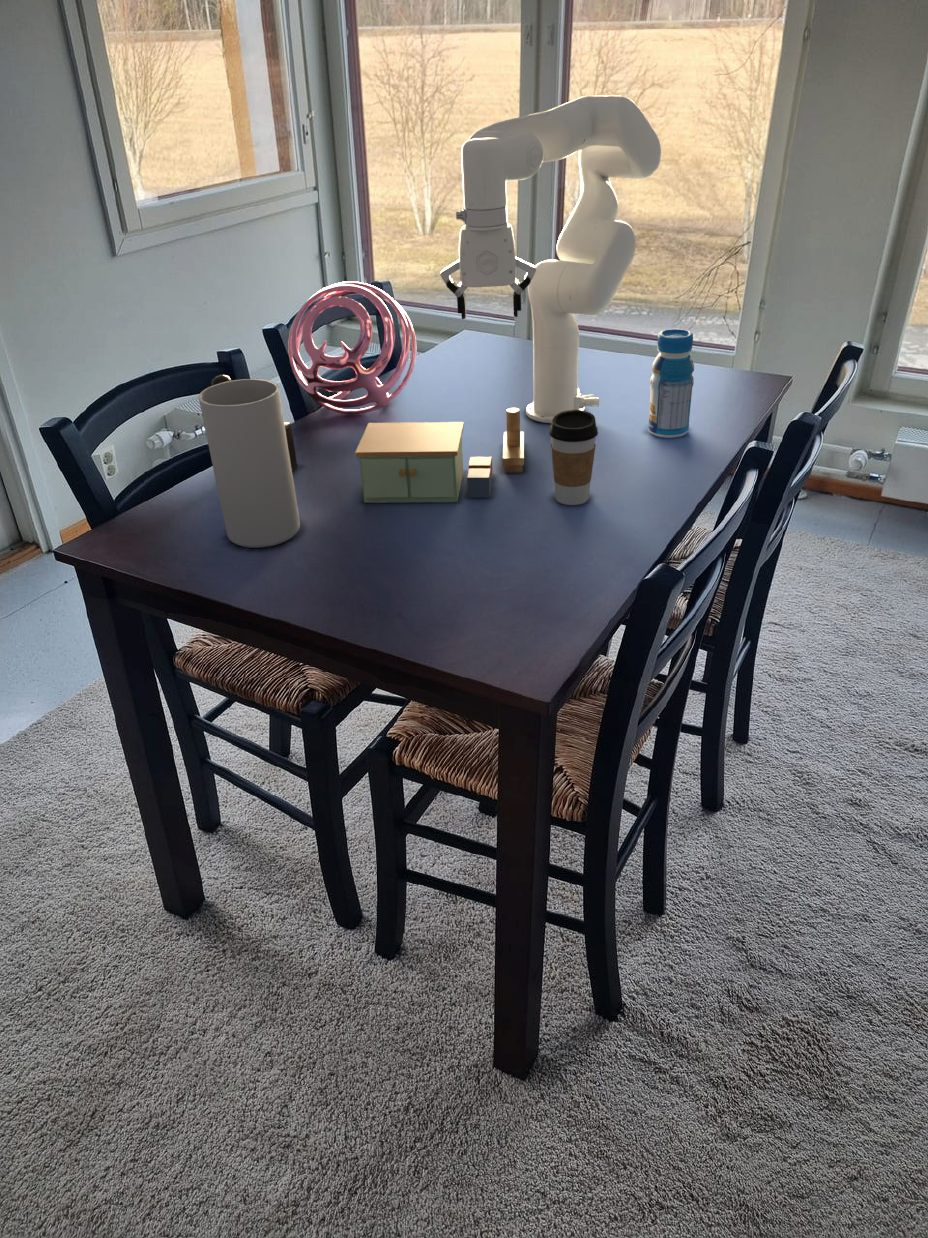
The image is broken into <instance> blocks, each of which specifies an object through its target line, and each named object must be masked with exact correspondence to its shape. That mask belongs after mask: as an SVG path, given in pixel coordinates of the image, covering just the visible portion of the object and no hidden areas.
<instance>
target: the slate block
mask: <svg viewBox="0 0 928 1238" xmlns="http://www.w3.org/2000/svg"><path fill="white" fill-rule="evenodd" d="M466 489H467V498H468V499H469V498H470V499H471V498H472V499H475V498H477V499H482V498H483V499H490V498H491V493H492V489H493V487H492V481H491V468H469V467H468V471H467V475H466Z"/></svg>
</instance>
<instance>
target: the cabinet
mask: <svg viewBox="0 0 928 1238" xmlns="http://www.w3.org/2000/svg"><path fill="white" fill-rule="evenodd" d="M464 427H465V422H464V421H424V422H423V421H421V422H419V421H417V422H411V421H409V422H368V423H367V426H366V427H365V430H364V432H363V435H362V437H361V439H360V440H359V444H358V445H357V448H356V450H355V452H354V454H355V457H358V460H359V466H360V467H359V468H360V476H361V486H362V494H363V502H364V503H365V504H366V503H367V504H368V503H369V504H370V503H371V504H373V503H375V504H376V503H378V504H379V503H380V504H381V503H383V504H384V503H387V504H389V503H458V501H459V496H460V491H461V486H462V482H463V481H462V480H463V476H464V459H463V457H464V455H463V432H464Z"/></svg>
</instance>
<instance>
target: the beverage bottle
mask: <svg viewBox="0 0 928 1238" xmlns="http://www.w3.org/2000/svg"><path fill="white" fill-rule="evenodd" d="M656 341H657V342H656V350H657V352H658V354H657V355H656V357H655V359H654V360H653V362H652V365H651V372H652V375H651V377H650V381H649V385H650V395H649V396H650V397H649V411H648V413H649V414H648V424H647V430H648V432H649V433H650V434H651V435H653V436H656V437H658V438H666V439H674V438H680V437H683V436H685V435H686V434H687V433H688V432H689V429H690V418H691V417H690V415H691V406H692V396H693V395H692V394H693V387H694V384H695V383H694V382H695V379H694V376H693V373H694V371H695V364H694V361H693V359H692V355H690V353H691V352H692V349H693V345H694V334H693V332H692V331H691V330H687V329H682V328H668V329H664V330H661V331H659V332H658V333H657V340H656Z"/></svg>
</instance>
